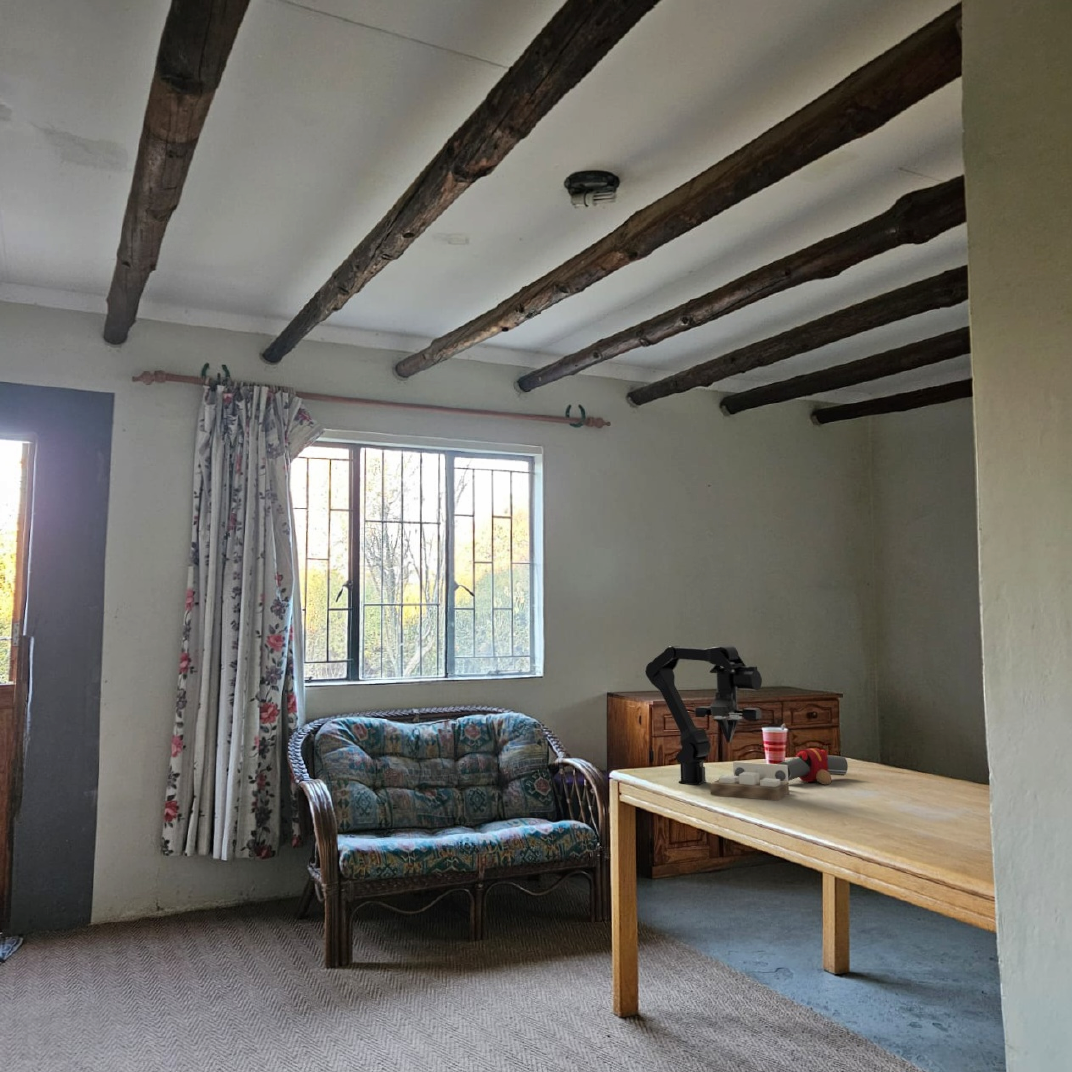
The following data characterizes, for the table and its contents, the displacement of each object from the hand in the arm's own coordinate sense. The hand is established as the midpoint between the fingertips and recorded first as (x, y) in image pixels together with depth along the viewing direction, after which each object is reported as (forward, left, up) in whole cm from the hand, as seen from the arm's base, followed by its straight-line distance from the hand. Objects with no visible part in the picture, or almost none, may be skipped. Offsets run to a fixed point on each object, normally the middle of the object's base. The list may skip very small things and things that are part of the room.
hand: (728, 742), depth 269 cm
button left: (+2, -7, -13) cm, 14 cm away
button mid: (+8, -7, -11) cm, 15 cm away
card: (+8, +4, -13) cm, 16 cm away
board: (+8, -6, -13) cm, 17 cm away
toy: (+18, +20, -13) cm, 30 cm away
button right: (+14, -7, -13) cm, 20 cm away
